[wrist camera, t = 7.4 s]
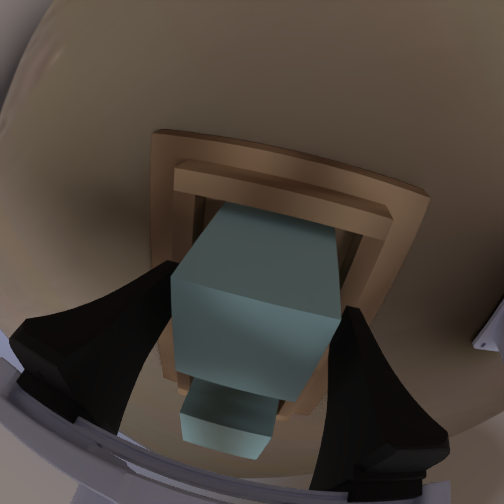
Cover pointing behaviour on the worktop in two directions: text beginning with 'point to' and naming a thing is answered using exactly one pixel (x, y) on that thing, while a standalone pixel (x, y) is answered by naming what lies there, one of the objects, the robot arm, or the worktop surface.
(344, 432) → the robot arm
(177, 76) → the worktop surface
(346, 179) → the walnut stand
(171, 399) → the worktop surface
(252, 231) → the teal block
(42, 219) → the worktop surface
